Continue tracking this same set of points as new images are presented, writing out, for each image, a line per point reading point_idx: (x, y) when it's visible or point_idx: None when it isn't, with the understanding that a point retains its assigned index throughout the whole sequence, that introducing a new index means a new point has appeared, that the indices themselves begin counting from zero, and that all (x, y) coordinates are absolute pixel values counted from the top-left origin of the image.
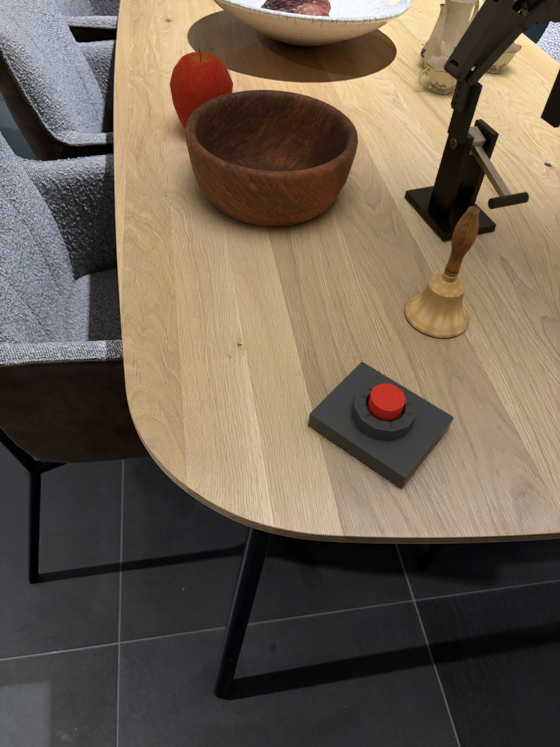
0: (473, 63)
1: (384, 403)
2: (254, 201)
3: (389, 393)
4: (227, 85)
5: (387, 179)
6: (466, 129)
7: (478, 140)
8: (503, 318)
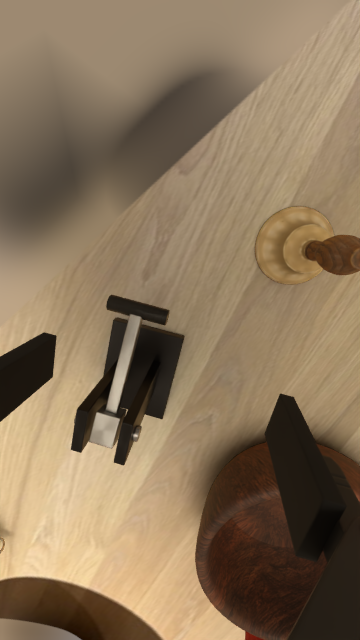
0: None
1: None
2: None
3: None
4: None
5: (156, 444)
6: (295, 413)
7: (108, 417)
8: (228, 199)
